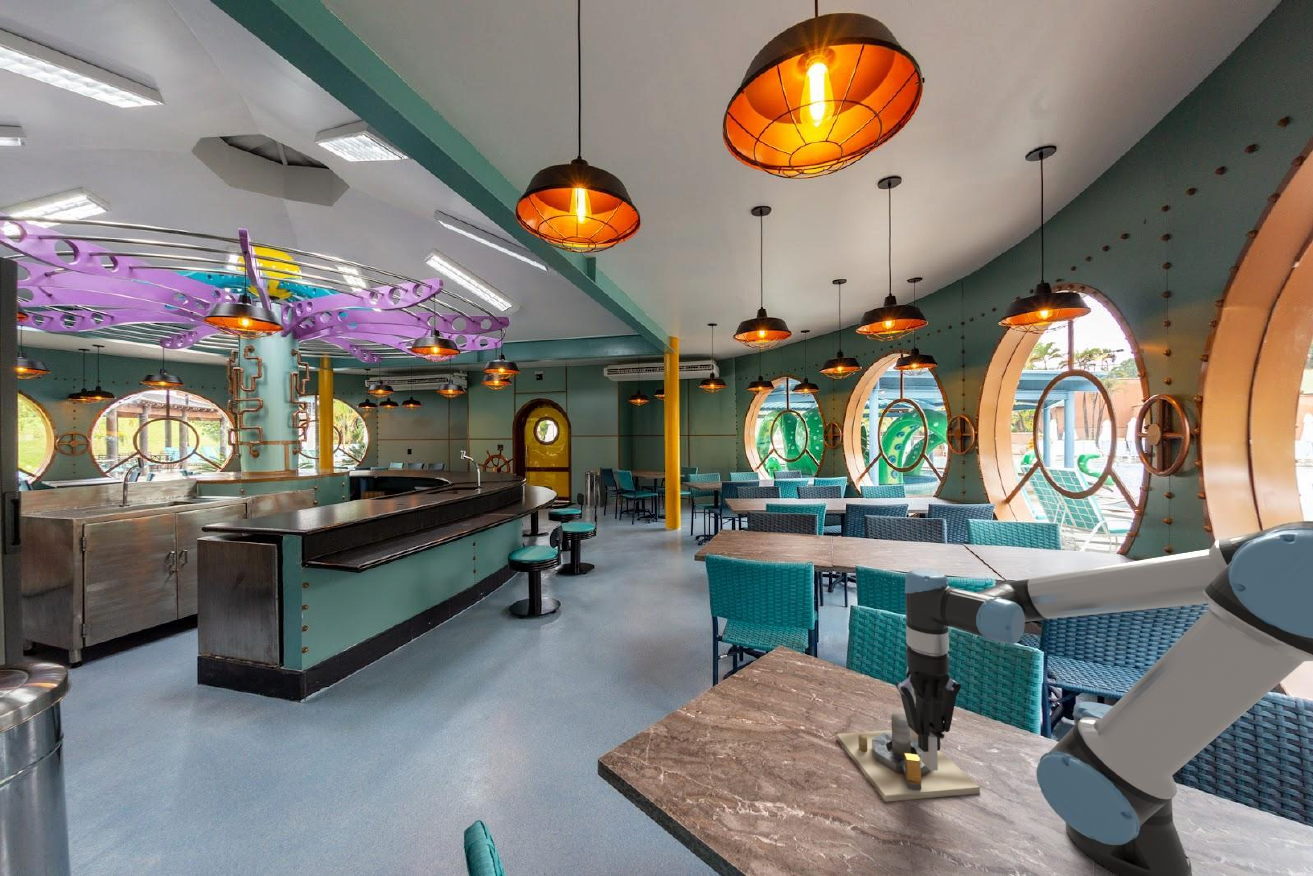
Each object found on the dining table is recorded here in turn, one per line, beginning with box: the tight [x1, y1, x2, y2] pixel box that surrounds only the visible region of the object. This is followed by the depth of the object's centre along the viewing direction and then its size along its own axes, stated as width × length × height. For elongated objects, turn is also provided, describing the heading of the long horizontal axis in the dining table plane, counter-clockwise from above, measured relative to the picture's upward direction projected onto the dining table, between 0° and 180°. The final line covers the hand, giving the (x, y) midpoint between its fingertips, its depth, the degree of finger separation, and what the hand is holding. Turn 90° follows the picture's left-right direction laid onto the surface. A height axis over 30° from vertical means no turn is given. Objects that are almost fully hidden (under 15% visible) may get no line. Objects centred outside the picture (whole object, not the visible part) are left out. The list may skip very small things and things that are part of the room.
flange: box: [872, 733, 929, 790], centre depth 100 cm, size 16×11×6 cm
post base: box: [836, 712, 981, 803], centre depth 102 cm, size 20×20×10 cm
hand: (929, 765), depth 94 cm, fingers closed
